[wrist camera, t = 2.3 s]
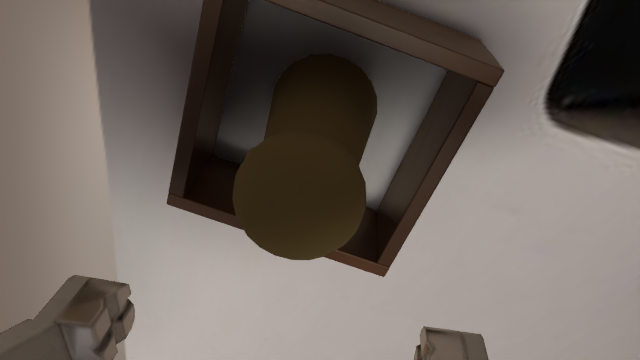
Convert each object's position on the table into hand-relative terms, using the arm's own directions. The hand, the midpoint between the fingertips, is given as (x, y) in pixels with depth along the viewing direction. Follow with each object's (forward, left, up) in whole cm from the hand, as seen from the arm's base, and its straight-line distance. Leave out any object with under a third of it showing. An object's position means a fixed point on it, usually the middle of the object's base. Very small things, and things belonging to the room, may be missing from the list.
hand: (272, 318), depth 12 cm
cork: (0, 0, -16) cm, 16 cm away
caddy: (0, 0, -15) cm, 15 cm away
